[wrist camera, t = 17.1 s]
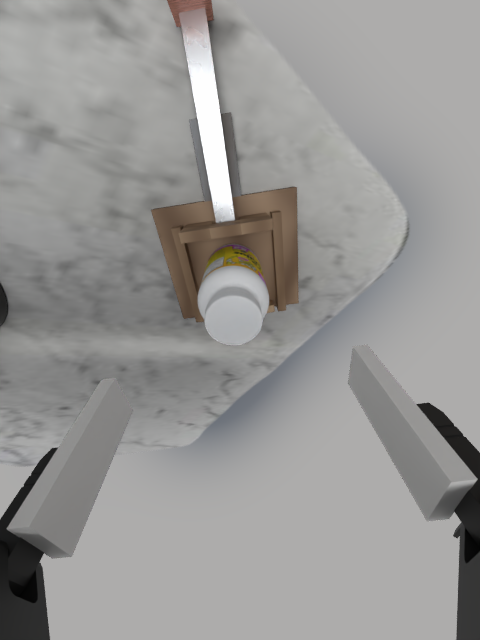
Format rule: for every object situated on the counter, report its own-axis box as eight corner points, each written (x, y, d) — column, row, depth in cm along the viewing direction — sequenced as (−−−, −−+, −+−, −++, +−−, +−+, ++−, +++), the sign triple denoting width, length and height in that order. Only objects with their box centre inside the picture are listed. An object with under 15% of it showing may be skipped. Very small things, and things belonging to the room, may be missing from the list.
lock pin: (212, 221, 27) (207, 233, 21) (172, 4, 19) (144, -78, 13) (239, 217, 27) (241, 228, 21) (210, -3, 19) (200, -90, 13)
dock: (185, 314, 34) (176, 339, 29) (131, 132, 24) (102, 119, 18) (296, 299, 34) (308, 321, 28) (292, 104, 23) (310, 82, 18)
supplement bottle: (270, 272, 30) (292, 327, 19) (230, 302, 32) (230, 367, 21) (236, 229, 28) (239, 265, 17) (195, 265, 30) (173, 319, 19)
